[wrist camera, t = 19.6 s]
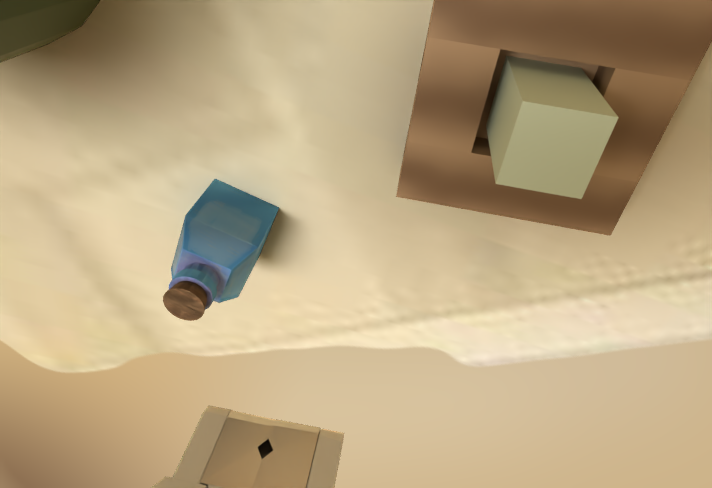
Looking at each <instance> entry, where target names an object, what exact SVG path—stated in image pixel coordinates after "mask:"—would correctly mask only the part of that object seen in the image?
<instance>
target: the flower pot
mask: <svg viewBox="0 0 712 488" xmlns="http://www.w3.org/2000/svg"><path fill="white" fill-rule="evenodd" d="M99 1H100V0H0V62H3V61H5V60H8V59H10V58H13V57H16V56H18V55H21V54H23V53H26V52H29V51H31V50H34V49H36V48H39V47H42V46H44V45H47V44H49V43H51V42H53V41H54V40H56V39H58V38H60V37H62V36H64V35H66V34H68V33H70V32H71V31H73V30H75V29H77V28H79V27H81V26H82V25H83V23H84V22H85V21H86V19H87V18H88V17H89V15H90V14H91V12H92V11H93V10H94V8H95V7H96V6H97V4H98V3H99Z"/></svg>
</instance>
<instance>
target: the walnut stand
mask: <svg viewBox="0 0 712 488" xmlns="http://www.w3.org/2000/svg"><path fill="white" fill-rule="evenodd" d="M711 41H712V0H434V3H433V8H432V13H431V18H430V23H429V28H428V33H427V39H426V44H425V49H424V54H423V59H422V64H421V69H420V74H419V79H418V85H417V90H416V95H415V100H414V105H413V110H412V115H411V120H410V125H409V131H408V136H407V141H406V146H405V151H404V156H403V161H402V166H401V172H400V178H399V184H398V190H397V196H396V197H401V198H407V199H412V200H418V201H423V202H429V203H434V204H440V205H445V206H451V207H456V208H462V209H467V210H473V211H478V212H484V213H489V214H495V215H500V216H506V217H511V218H517V219H522V220H528V221H533V222H539V223H544V224H550V225H555V226H561V227H566V228H572V229H577V230H583V231H588V232H594V233H599V234H605V235H611V233H612V231H613V230H614V228H615V226H616V224H617V222H618V220H619V218H620V216H621V214H622V212H623V210H624V208H625V207H626V205H627V203H628V201H629V199H630V197H631V195H632V193H633V191H634V189H635V187H636V185H637V183H638V182H639V180H640V178H641V176H642V174H643V172H644V170H645V168H646V166H647V164H648V162H649V160H650V158H651V157H652V155H653V153H654V151H655V149H656V147H657V145H658V143H659V141H660V139H661V137H662V135H663V134H664V132H665V130H666V128H667V126H668V124H669V122H670V120H671V118H672V116H673V114H674V112H675V110H676V109H677V107H678V105H679V103H680V101H681V99H682V97H683V95H684V93H685V91H686V89H687V87H688V86H689V84H690V82H691V80H692V78H693V76H694V74H695V72H696V70H697V68H698V66H699V64H700V62H701V61H702V59H703V57H704V55H705V53H706V51H707V49H708V47H709V45H710V43H711ZM506 55H507V56H513V57H519V58H525V59H531V60H537V61H543V62H549V63H555V64H561V65H567V66H573V67H579V68H582V70H583V71H584V72H585V74H586V75H587V76H588V78H589V79H590V80H591V82H592V83H593V84H594V86H595V87H596V88H597V90H598V91H599V92H600V93H601V95H602V96H603V97H604V99H605V100H606V101H607V103H608V104H609V105H610V107H611V108H612V109H613V111H614V112H615V113H616V115H617V116H618V117H619V118H618V120H617V122H616V124H615V126H614V129H613V131H612V133H611V135H610V137H609V140H608V142H607V144H606V146H605V148H604V151H603V153H602V155H601V157H600V160H599V162H598V164H597V166H596V168H595V171H594V173H593V175H592V177H591V179H590V182H589V184H588V186H587V188H586V190H585V193H584V195H583V197H582V199H578V198H572V197H566V196H561V195H555V194H550V193H544V192H539V191H533V190H527V189H522V188H516V187H511V186H505V185H499V184H496V183H495V177H494V171H493V165H492V159H491V153H490V147H489V141H488V135H487V129H486V124H487V120H488V117H489V113H490V110H491V106H492V103H493V100H494V96H495V93H496V89H497V86H498V82H499V79H500V76H501V72H502V69H503V65H504V62H505V58H506Z"/></svg>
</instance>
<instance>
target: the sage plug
mask: <svg viewBox="0 0 712 488" xmlns="http://www.w3.org/2000/svg"><path fill="white" fill-rule="evenodd" d="M618 118H619V117H618V116H617V115H616V113H615V112H614V111H613V109H612V108H611V107H610V105H609V104H608V103H607V101H606V100H605V99H604V97H603V96H602V95H601V93H600V92H599V91H598V90H597V88H596V87H595V86H594V84H593V83H592V82H591V80H590V79H589V78H588V76H587V75H586V74H585V72H584V71H583V70H582V68H579V67H573V66H567V65H561V64H555V63H549V62H543V61H537V60H531V59H525V58H519V57H513V56H507V55H506V58H505V62H504V65H503V69H502V72H501V76H500V79H499V82H498V86H497V89H496V93H495V96H494V100H493V103H492V106H491V110H490V113H489V117H488V120H487V124H486V129H487V135H488V141H489V147H490V153H491V159H492V165H493V171H494V177H495V183H496V184H499V185H505V186H511V187H516V188H522V189H527V190H533V191H539V192H544V193H550V194H555V195H561V196H566V197H572V198H578V199H582V197H583V195H584V193H585V190H586V188H587V186H588V184H589V182H590V179H591V177H592V175H593V173H594V171H595V168H596V166H597V164H598V162H599V160H600V157H601V155H602V153H603V151H604V148H605V146H606V144H607V142H608V140H609V137H610V135H611V133H612V131H613V129H614V126H615V124H616V122H617V120H618Z"/></svg>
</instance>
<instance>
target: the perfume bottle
mask: <svg viewBox="0 0 712 488" xmlns="http://www.w3.org/2000/svg"><path fill="white" fill-rule="evenodd" d="M278 210H279V207H277V206H274V205H272V204H270V203H268V202H266V201H263V200H261V199H259V198H257V197H254V196H252V195H250V194H248V193H246V192H243V191H241V190H239V189H237V188H235V187H232V186H230V185H228V184H226V183H224V182H221V181H219V180H217V179H214V181H213V182H212V183H211V184H210V186H209V187H208V188H207V189H206V191H205V192H204V193H203V194H202V196H201V197H200V198H199V199H198V201H197V202H196V203H195V204H194V206H193V207H192V208H191V209H190V211H189V212H188V213H187V214H186V216H185V220H184V223H183V227H182V231H181V234H180V238H179V242H178V245H177V249H176V253H175V256H174V260H173V264H172V267H171V272H172V281H171V282H170V284H169V290H168V291H167V292H166V293H165V294H164V296H163V302H164V305H165V307H166V308H167V310H168V311H169V312H170V313H172V314H173V315H174V316H176V317H178V318H180V319H184V320H190V321H192V320H197V319H199V318H201V317H202V315H203V314H204V311H205V309H207V308H209V307H210V305H211V304H212V302H213V301H216V302H218V303H220V302H223V301H227V300H230V299H233V298H236V297H238V296H239V294H240V292H241V290H242V289H243V287H244V285H245V283H246V281H247V279H248V277H249V275H250V273H251V271H252V269H253V267H254V265H255V263H256V261H257V259H258V257H259V255H260V253H261V251H262V248H263V246H264V243H265V241H266V239H267V236H268V234H269V231H270V229H271V226H272V224H273V222H274V219H275V217H276V214H277V212H278Z"/></svg>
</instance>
